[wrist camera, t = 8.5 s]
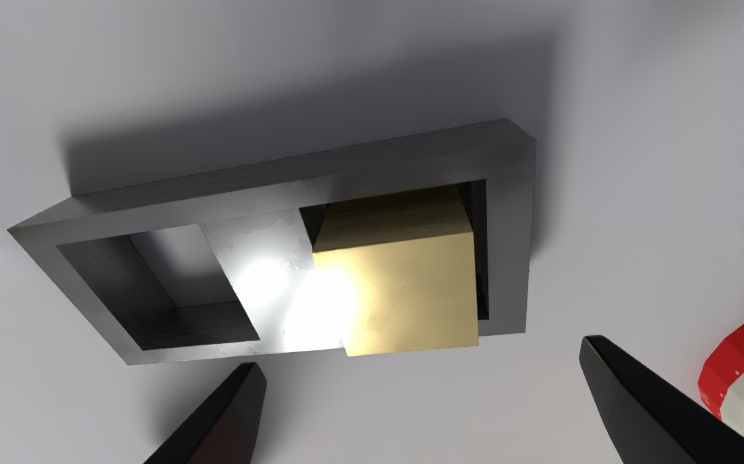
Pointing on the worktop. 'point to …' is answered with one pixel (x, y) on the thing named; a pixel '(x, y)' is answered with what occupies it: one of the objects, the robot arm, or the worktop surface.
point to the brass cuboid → (400, 271)
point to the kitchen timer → (725, 381)
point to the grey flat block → (280, 242)
